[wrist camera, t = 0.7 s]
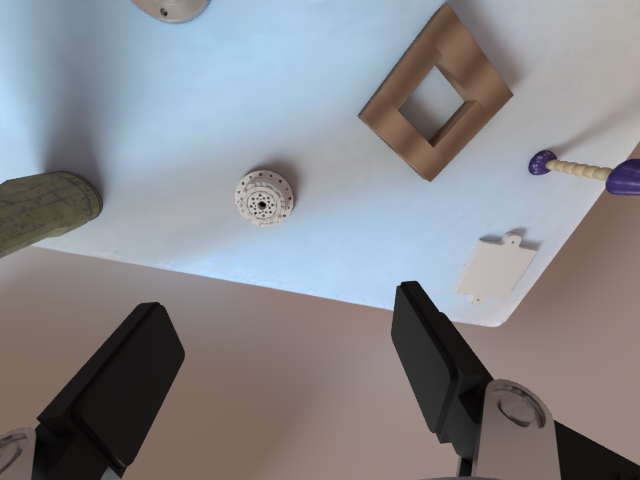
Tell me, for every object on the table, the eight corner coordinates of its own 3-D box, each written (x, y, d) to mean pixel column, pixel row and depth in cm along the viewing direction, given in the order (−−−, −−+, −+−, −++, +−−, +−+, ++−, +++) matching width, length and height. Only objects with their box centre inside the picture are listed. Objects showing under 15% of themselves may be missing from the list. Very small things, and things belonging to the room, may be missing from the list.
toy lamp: (524, 179, 44) (639, 208, 29) (525, 154, 42) (650, 171, 27) (551, 170, 43) (681, 195, 28) (553, 144, 41) (695, 156, 26)
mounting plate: (482, 227, 48) (488, 231, 47) (536, 236, 50) (544, 240, 48) (446, 296, 56) (450, 301, 54) (494, 301, 58) (499, 307, 56)
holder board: (357, 116, 37) (361, 115, 35) (435, 12, 32) (447, 2, 30) (422, 178, 42) (430, 182, 40) (498, 97, 37) (513, 95, 35)
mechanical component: (296, 221, 45) (290, 167, 40) (295, 231, 41) (289, 172, 36) (243, 225, 44) (231, 171, 40) (237, 235, 40) (224, 176, 36)
